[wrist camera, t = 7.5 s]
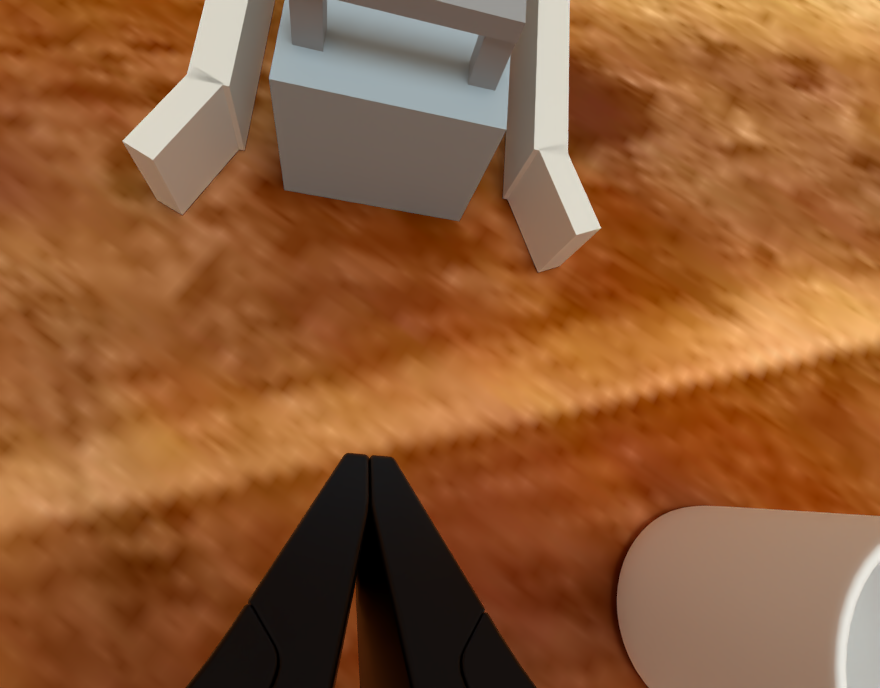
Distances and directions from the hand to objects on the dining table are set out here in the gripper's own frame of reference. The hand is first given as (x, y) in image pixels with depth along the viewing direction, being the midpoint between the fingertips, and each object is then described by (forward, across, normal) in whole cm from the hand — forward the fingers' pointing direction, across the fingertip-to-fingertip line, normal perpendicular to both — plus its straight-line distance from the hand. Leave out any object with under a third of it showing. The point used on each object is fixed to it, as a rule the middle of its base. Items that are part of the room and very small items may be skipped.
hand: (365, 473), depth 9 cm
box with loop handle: (+23, 0, -5) cm, 23 cm away
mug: (+6, -17, +11) cm, 22 cm away
